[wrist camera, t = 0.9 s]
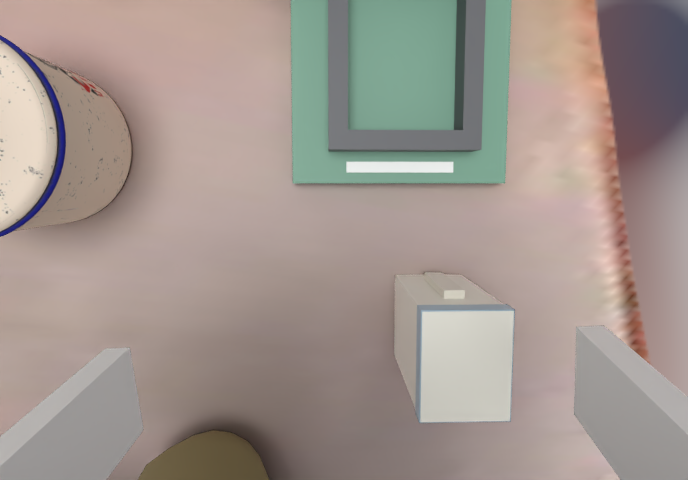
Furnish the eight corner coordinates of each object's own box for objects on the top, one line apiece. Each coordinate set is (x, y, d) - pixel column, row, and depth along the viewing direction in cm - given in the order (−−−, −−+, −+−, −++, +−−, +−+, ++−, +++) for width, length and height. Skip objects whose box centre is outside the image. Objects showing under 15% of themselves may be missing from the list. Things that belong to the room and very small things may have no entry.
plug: (459, 355, 32) (510, 422, 23) (393, 355, 32) (419, 423, 23) (461, 267, 31) (515, 302, 22) (394, 268, 31) (421, 302, 22)
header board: (496, 183, 31) (518, 183, 27) (294, 183, 30) (290, 183, 27) (503, -48, 29) (527, -78, 26) (292, -51, 29) (287, -82, 25)
